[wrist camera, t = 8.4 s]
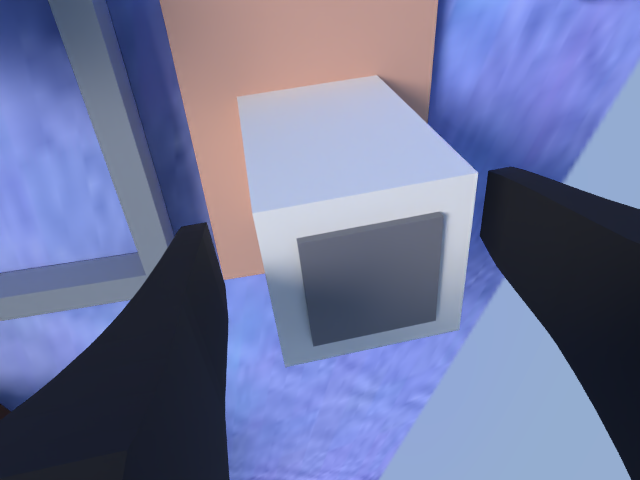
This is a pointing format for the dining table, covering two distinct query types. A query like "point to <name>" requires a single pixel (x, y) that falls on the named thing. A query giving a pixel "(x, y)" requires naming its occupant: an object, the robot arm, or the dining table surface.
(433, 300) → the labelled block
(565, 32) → the dining table surface
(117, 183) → the grey rectangular frame
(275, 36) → the terracotta mat
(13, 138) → the dining table surface
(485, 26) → the dining table surface
